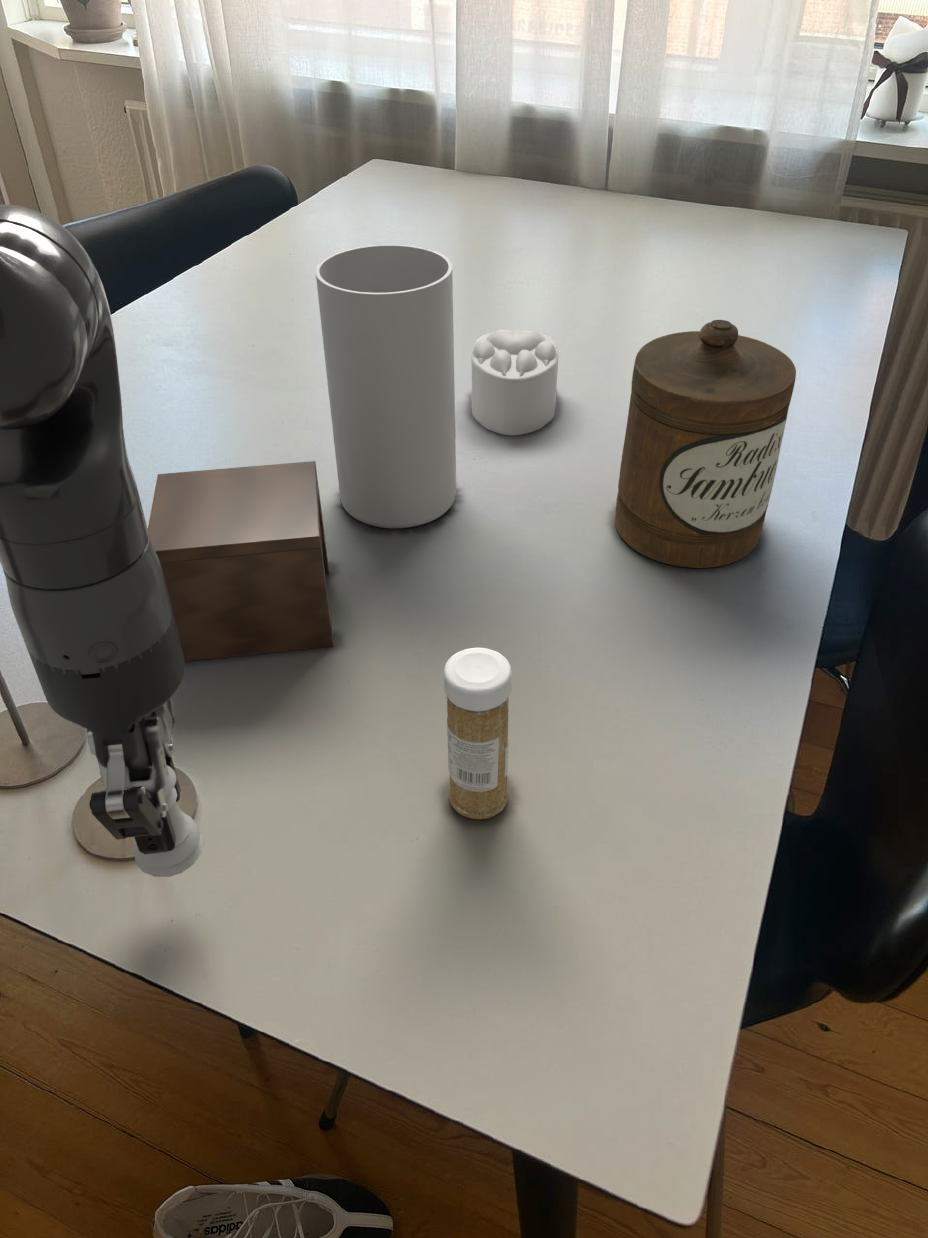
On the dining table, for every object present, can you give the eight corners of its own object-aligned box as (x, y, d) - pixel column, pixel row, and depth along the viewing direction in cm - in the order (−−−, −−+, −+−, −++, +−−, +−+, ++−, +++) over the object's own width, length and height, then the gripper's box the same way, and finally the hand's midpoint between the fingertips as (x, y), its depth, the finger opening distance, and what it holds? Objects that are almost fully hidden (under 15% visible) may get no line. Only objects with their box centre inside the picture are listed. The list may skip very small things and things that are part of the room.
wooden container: (678, 587, 92) (715, 373, 78) (586, 513, 102) (603, 311, 88) (791, 540, 98) (844, 333, 84) (693, 474, 108) (726, 278, 93)
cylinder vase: (478, 489, 106) (478, 259, 90) (412, 545, 98) (398, 304, 82) (386, 457, 111) (371, 236, 95) (316, 508, 103) (287, 276, 87)
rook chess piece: (205, 875, 63) (182, 794, 57) (133, 887, 62) (105, 806, 57) (205, 821, 66) (184, 740, 61) (137, 831, 65) (110, 751, 60)
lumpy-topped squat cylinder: (555, 386, 124) (559, 321, 119) (555, 436, 114) (559, 368, 109) (475, 384, 125) (475, 319, 119) (467, 433, 115) (467, 366, 110)
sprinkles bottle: (518, 788, 73) (523, 657, 65) (490, 831, 70) (492, 700, 62) (465, 766, 75) (464, 636, 66) (436, 807, 72) (430, 677, 63)
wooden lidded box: (173, 663, 85) (143, 552, 77) (183, 580, 94) (157, 473, 86) (333, 646, 86) (319, 536, 78) (328, 566, 95) (315, 460, 87)
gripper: (48, 545, 56) (115, 748, 67) (-6, 720, 45) (84, 927, 56) (181, 535, 57) (225, 737, 68) (158, 704, 46) (215, 911, 57)
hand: (161, 822), depth 62 cm, fingers closed on rook chess piece, 3 cm apart
